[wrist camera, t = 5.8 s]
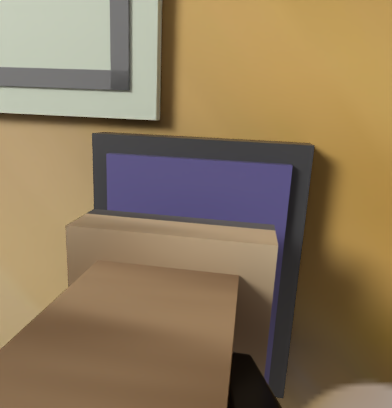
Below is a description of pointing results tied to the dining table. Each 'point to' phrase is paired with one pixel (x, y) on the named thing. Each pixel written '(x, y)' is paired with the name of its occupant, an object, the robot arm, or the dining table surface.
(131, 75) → the mat
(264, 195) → the ink pad
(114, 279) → the stamp
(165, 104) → the dining table surface
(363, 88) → the dining table surface
